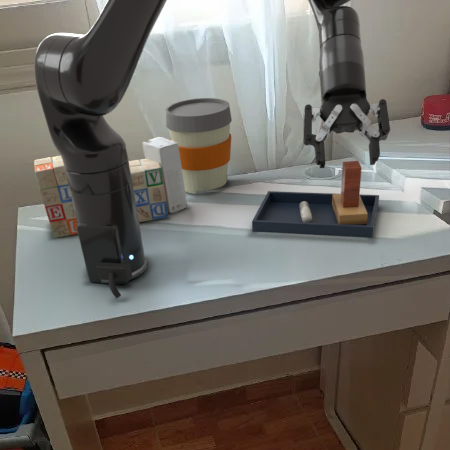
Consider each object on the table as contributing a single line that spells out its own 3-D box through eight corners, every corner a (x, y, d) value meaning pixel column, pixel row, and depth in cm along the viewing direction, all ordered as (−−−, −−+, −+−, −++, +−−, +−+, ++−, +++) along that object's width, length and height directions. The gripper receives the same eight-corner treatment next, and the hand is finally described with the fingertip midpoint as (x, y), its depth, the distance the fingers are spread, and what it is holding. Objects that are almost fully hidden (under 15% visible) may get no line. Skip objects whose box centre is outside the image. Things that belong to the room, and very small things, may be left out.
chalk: (312, 225, 104) (312, 215, 103) (302, 225, 104) (302, 215, 103) (308, 209, 109) (308, 199, 108) (298, 209, 109) (298, 200, 108)
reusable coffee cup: (241, 175, 126) (237, 97, 117) (227, 198, 117) (221, 116, 108) (184, 173, 129) (176, 97, 120) (166, 197, 120) (155, 116, 111)
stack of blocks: (163, 205, 117) (153, 139, 109) (169, 218, 112) (159, 150, 104) (51, 224, 114) (33, 158, 106) (52, 238, 109) (33, 170, 101)
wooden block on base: (366, 229, 102) (371, 173, 95) (338, 231, 102) (341, 175, 96) (357, 207, 108) (361, 154, 102) (331, 209, 109) (334, 156, 102)
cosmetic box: (188, 207, 115) (180, 141, 108) (169, 214, 114) (159, 148, 106) (170, 198, 119) (161, 134, 111) (151, 205, 117) (141, 141, 110)
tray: (371, 242, 100) (373, 227, 98) (252, 235, 105) (251, 221, 103) (378, 209, 109) (379, 195, 108) (268, 204, 114) (268, 190, 112)
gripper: (301, 62, 100) (307, 157, 99) (388, 56, 99) (395, 150, 98) (298, 89, 108) (304, 177, 106) (379, 83, 107) (385, 171, 106)
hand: (348, 164), depth 102 cm, fingers open, 8 cm apart
